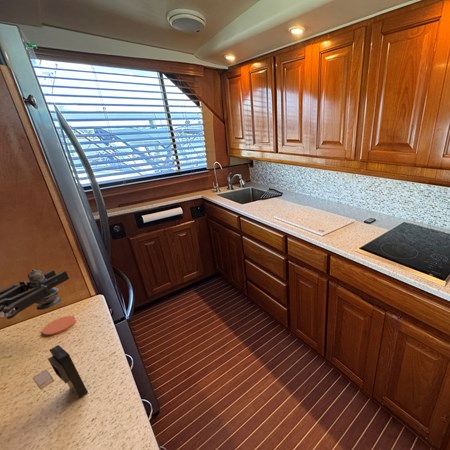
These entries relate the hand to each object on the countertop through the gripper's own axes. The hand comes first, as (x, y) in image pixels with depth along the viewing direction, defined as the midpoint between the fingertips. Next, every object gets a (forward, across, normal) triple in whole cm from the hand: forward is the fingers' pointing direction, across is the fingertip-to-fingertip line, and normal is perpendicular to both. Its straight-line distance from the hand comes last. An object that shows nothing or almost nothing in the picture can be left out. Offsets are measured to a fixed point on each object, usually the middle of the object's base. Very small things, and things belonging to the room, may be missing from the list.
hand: (60, 274), depth 73 cm
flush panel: (-23, +26, -15) cm, 37 cm away
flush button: (-25, +24, -9) cm, 36 cm away
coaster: (-5, 0, -15) cm, 16 cm away
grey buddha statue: (-5, 0, -7) cm, 9 cm away
